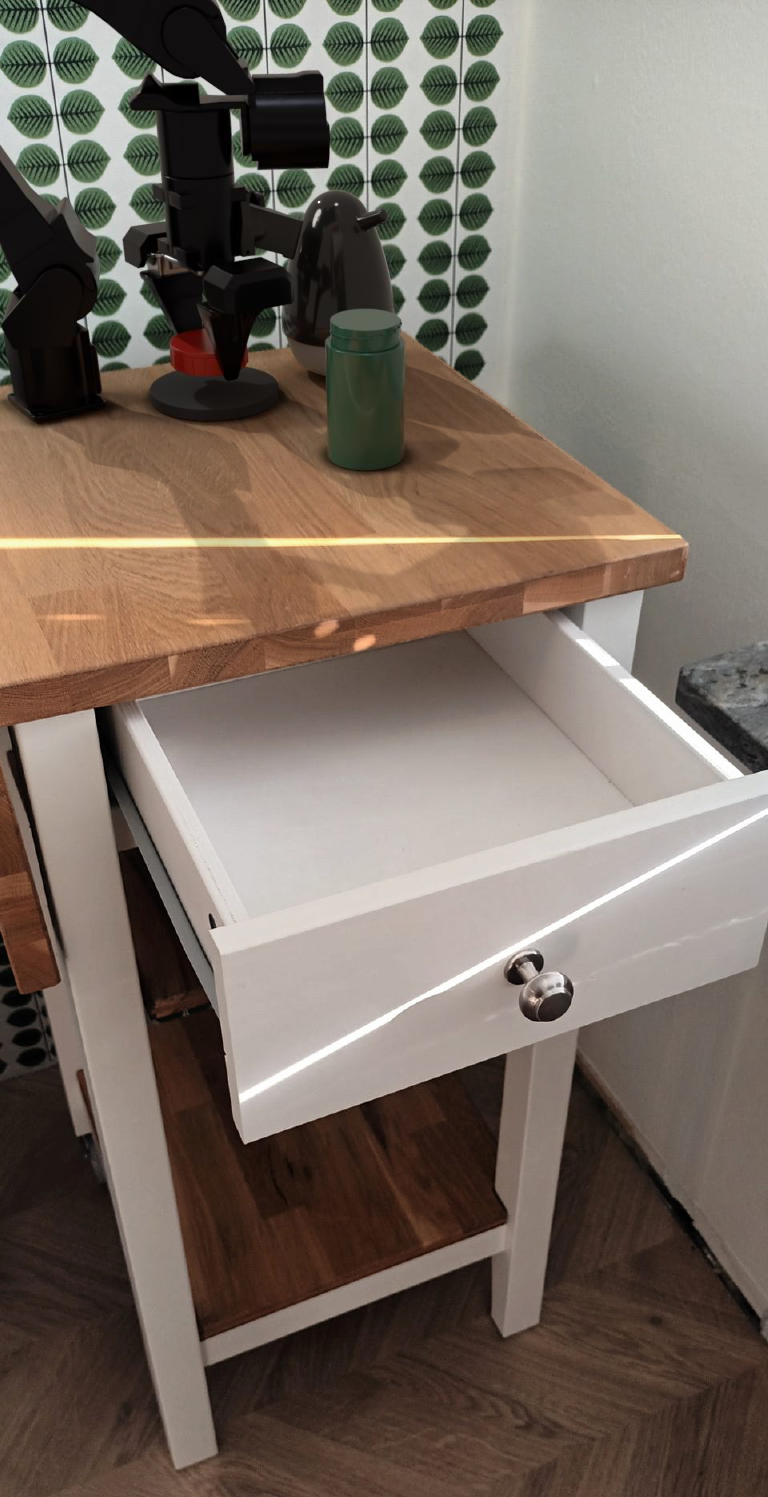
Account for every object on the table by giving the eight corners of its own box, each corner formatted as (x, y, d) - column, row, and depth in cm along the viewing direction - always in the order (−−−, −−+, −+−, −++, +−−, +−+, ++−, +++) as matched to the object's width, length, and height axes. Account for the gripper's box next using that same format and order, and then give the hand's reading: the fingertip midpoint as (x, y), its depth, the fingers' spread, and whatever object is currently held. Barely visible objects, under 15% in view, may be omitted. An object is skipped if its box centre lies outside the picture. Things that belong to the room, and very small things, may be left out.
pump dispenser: (350, 396, 108) (347, 211, 99) (260, 371, 113) (250, 192, 104) (418, 365, 115) (422, 188, 106) (331, 342, 120) (327, 171, 111)
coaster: (188, 431, 102) (187, 419, 101) (129, 391, 109) (128, 380, 109) (302, 403, 107) (302, 392, 106) (239, 367, 114) (238, 356, 114)
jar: (355, 477, 95) (354, 337, 89) (313, 451, 99) (309, 316, 92) (418, 459, 98) (422, 322, 91) (375, 434, 102) (375, 302, 95)
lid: (256, 352, 108) (255, 331, 107) (236, 379, 103) (235, 357, 102) (184, 347, 109) (182, 325, 108) (161, 374, 104) (158, 351, 103)
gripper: (349, 181, 95) (351, 382, 104) (229, 140, 107) (240, 323, 116) (221, 200, 90) (235, 409, 99) (110, 155, 102) (131, 345, 111)
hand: (212, 368), depth 107 cm, fingers closed on lid, 6 cm apart
